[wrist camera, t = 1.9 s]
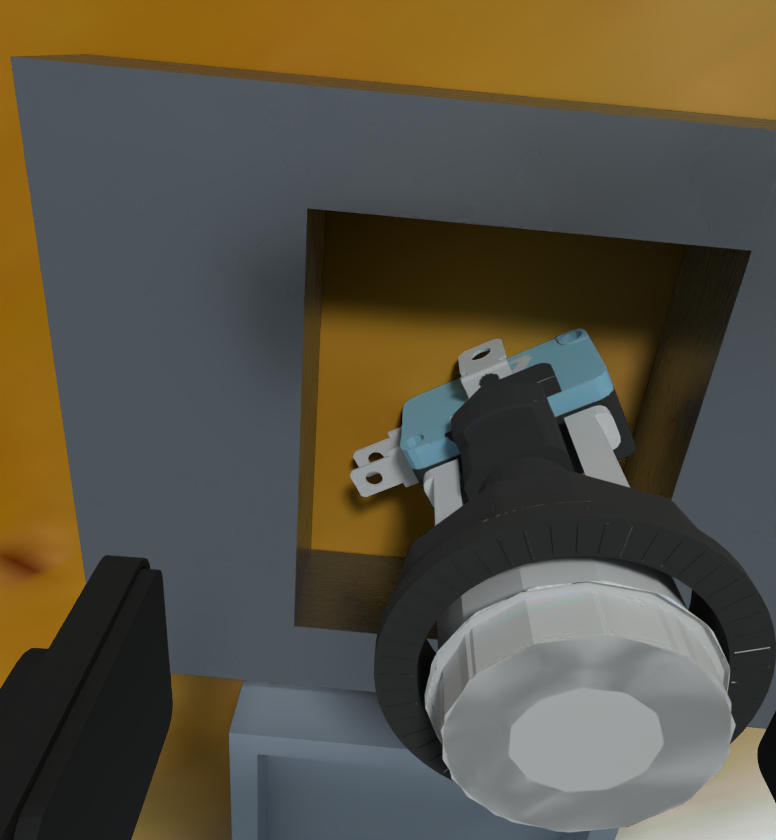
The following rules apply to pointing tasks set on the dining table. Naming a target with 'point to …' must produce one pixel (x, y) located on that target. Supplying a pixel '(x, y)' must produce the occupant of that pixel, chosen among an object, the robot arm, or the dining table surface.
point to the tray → (346, 775)
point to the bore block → (301, 318)
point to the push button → (557, 603)
